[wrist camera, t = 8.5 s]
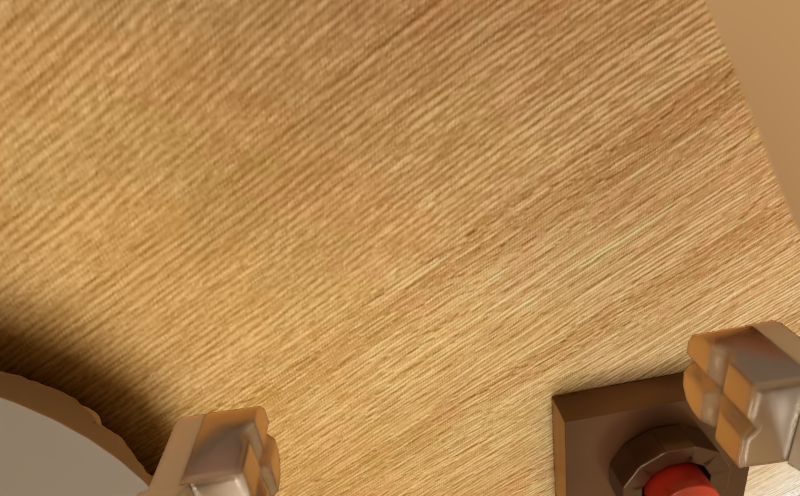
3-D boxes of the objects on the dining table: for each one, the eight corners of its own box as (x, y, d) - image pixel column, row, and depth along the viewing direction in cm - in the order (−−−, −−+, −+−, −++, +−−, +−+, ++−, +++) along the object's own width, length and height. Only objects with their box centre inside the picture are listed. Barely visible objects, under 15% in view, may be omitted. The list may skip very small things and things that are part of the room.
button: (704, 456, 31) (724, 480, 29) (699, 497, 32) (716, 523, 31) (644, 467, 31) (661, 492, 29) (641, 508, 32) (656, 534, 31)
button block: (740, 361, 33) (789, 406, 29) (722, 473, 37) (762, 524, 34) (551, 396, 33) (577, 446, 29) (555, 504, 37) (577, 559, 33)
